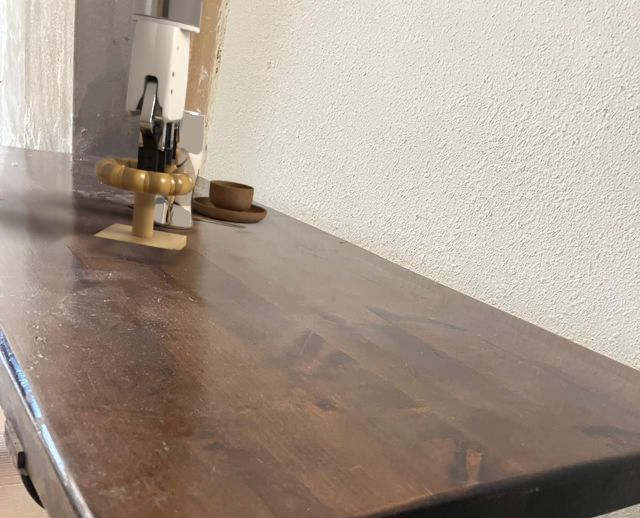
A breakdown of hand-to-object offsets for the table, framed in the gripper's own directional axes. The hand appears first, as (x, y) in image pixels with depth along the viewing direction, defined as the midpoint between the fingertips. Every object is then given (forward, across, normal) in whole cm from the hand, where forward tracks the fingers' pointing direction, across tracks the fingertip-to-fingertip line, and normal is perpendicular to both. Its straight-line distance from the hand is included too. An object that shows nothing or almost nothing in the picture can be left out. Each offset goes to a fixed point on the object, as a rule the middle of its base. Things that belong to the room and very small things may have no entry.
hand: (153, 181), depth 90 cm
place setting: (+7, -27, +2) cm, 28 cm away
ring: (-1, +4, 0) cm, 4 cm away
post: (+7, +4, 0) cm, 8 cm away
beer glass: (+7, -12, 0) cm, 14 cm away
